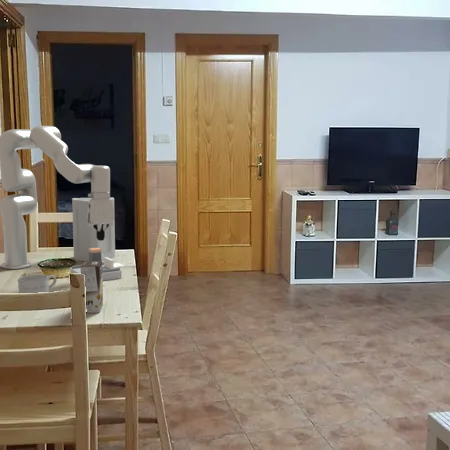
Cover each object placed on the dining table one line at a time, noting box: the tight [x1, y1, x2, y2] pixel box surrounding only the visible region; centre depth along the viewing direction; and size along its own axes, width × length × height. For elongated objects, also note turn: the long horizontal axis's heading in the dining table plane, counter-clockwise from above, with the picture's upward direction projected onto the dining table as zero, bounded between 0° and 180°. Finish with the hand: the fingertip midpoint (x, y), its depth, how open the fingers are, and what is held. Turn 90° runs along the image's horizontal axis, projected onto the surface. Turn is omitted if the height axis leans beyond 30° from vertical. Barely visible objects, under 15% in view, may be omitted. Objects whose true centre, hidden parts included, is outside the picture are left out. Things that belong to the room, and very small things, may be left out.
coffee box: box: [80, 261, 104, 314], centre depth 215 cm, size 9×6×16 cm
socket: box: [71, 261, 122, 281], centre depth 261 cm, size 16×16×4 cm
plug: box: [89, 248, 102, 261], centre depth 273 cm, size 4×4×9 cm
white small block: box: [103, 257, 126, 269], centre depth 265 cm, size 7×6×4 cm
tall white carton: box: [71, 197, 116, 262], centre depth 292 cm, size 19×15×28 cm
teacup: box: [17, 274, 58, 294], centre depth 229 cm, size 14×11×8 cm
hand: (100, 239), depth 261 cm, fingers closed
